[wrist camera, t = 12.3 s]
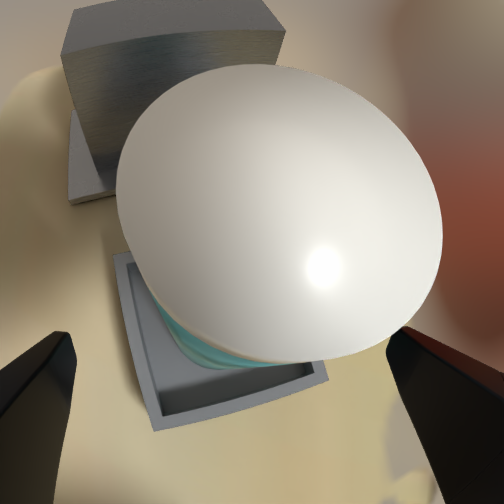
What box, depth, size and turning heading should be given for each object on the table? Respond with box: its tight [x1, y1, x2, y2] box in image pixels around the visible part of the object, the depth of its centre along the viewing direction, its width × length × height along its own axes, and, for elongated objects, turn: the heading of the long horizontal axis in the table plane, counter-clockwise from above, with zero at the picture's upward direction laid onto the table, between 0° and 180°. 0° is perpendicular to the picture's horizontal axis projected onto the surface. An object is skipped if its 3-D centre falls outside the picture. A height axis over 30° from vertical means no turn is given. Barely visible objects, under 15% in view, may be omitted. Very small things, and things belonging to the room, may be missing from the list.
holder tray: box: [113, 251, 329, 431], centre depth 16 cm, size 9×9×2 cm
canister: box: [116, 64, 443, 370], centre depth 10 cm, size 4×4×13 cm
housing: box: [60, 0, 286, 205], centre depth 16 cm, size 8×14×10 cm, turn 107°
